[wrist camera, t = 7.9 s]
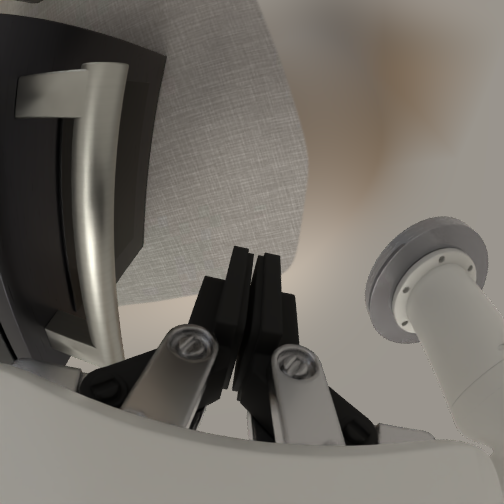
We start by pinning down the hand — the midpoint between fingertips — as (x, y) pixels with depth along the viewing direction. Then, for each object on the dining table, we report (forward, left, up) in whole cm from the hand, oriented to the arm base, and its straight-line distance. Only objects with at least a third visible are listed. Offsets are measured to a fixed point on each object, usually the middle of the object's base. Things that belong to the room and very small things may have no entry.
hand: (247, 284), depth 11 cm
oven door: (+8, 0, -15) cm, 17 cm away
